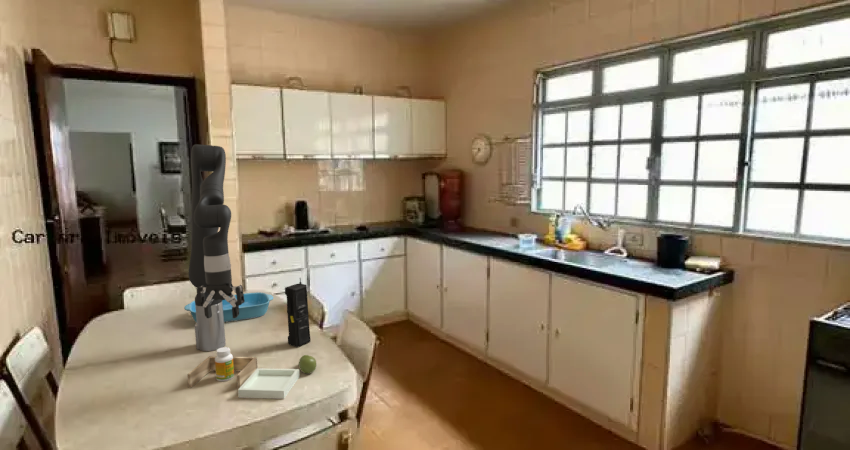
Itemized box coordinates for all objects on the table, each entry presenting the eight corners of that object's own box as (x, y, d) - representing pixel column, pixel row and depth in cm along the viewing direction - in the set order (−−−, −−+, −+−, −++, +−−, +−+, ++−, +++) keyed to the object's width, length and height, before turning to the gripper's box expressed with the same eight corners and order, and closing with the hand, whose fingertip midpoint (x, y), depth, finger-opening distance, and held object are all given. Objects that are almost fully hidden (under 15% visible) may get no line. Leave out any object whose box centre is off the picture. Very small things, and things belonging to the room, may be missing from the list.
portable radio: (296, 349, 174) (293, 284, 170) (285, 345, 177) (281, 281, 174) (312, 341, 181) (309, 279, 177) (300, 338, 184) (297, 276, 180)
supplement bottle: (227, 382, 149) (225, 353, 148) (212, 380, 150) (210, 352, 149) (237, 374, 155) (235, 346, 153) (223, 373, 156) (220, 345, 154)
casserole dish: (270, 303, 229) (269, 288, 228) (277, 317, 209) (276, 301, 208) (186, 314, 213) (184, 299, 212) (185, 331, 193) (183, 314, 192)
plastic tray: (238, 397, 140) (237, 389, 140) (257, 375, 154) (257, 368, 153) (284, 398, 139) (283, 390, 139) (299, 376, 153) (299, 369, 153)
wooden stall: (188, 387, 146) (187, 374, 145) (209, 368, 159) (208, 356, 158) (240, 388, 145) (239, 375, 144) (257, 369, 158) (256, 357, 157)
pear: (300, 360, 152) (295, 353, 161) (301, 376, 152) (297, 369, 161) (317, 357, 154) (312, 350, 163) (318, 373, 154) (313, 365, 163)
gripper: (189, 271, 144) (194, 322, 146) (234, 270, 143) (239, 321, 145) (202, 265, 151) (206, 313, 154) (245, 265, 150) (249, 313, 153)
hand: (222, 317), depth 150 cm, fingers open, 8 cm apart
